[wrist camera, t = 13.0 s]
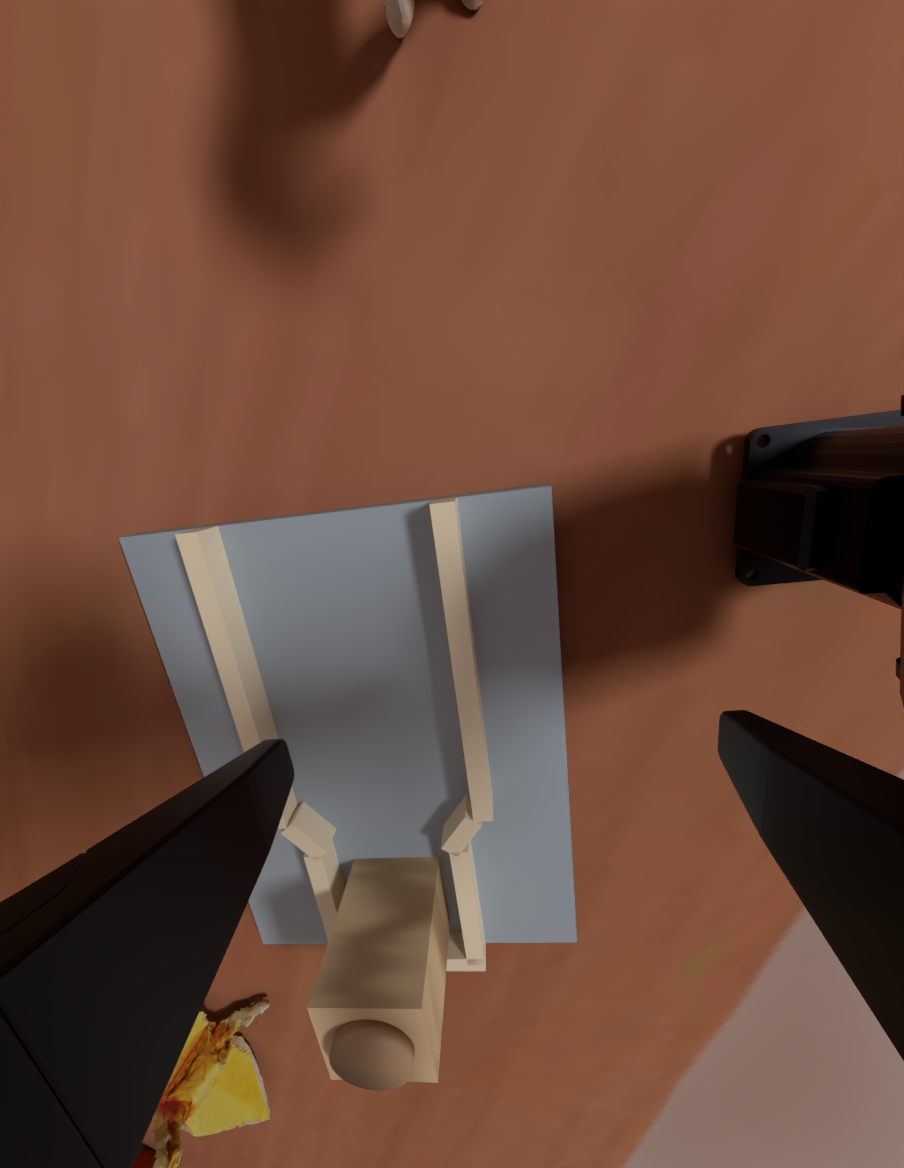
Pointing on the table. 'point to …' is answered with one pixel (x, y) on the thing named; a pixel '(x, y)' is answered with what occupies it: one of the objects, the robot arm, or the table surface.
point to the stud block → (385, 975)
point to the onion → (144, 1160)
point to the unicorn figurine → (410, 14)
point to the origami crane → (211, 1085)
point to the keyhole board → (384, 699)
